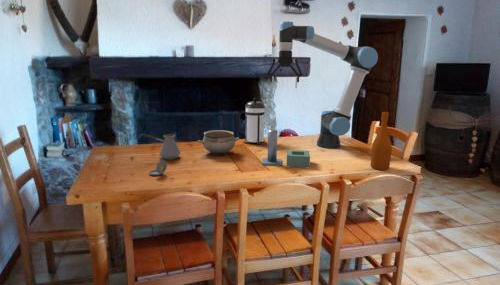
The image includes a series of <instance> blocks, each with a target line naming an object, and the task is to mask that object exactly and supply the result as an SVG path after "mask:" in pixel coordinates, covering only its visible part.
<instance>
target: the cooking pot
mask: <svg viewBox="0 0 500 285" xmlns="http://www.w3.org/2000/svg"><path fill="white" fill-rule="evenodd" d="M203 135H204V136H203V138H202V140H200V139H198V140H197V142H198V143H200V144H202V146H203V148H204V150H206V151H207V152H209V153H211V154H213V155H215V156H223V155H225V154H227V153H229V152H230V151H231V150H232V149H233V148H234V147H235V144H236V142H238V141H239V140H240V138H239V137H238V136H237V137H235V136H234V131H229V130H224V129H223V130H222V129H221V130H218V129H216V130H208V131H204V132H203Z"/></svg>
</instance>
